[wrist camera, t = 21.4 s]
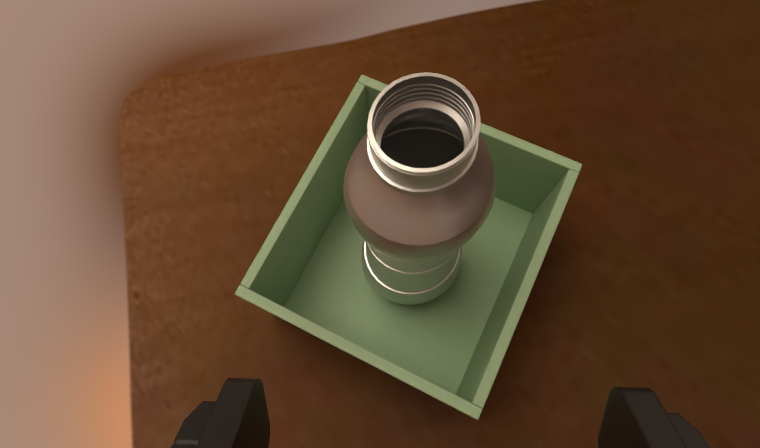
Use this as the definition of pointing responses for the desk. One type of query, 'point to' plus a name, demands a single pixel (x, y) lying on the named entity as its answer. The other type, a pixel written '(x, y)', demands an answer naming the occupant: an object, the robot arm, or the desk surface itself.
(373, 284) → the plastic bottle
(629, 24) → the desk surface
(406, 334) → the storage bin
